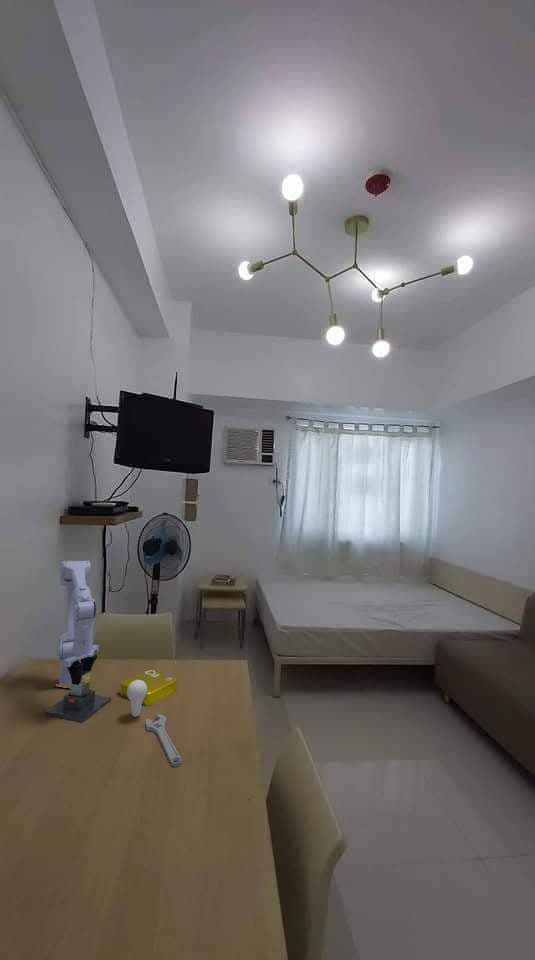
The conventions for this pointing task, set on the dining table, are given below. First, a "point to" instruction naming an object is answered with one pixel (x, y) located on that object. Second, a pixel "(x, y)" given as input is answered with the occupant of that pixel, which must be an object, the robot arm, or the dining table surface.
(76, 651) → the robot arm
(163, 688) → the element tile
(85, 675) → the stand column
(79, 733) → the dining table surface
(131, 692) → the lightbulb
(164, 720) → the adjustable wrench
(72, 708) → the stand base
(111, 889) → the dining table surface
